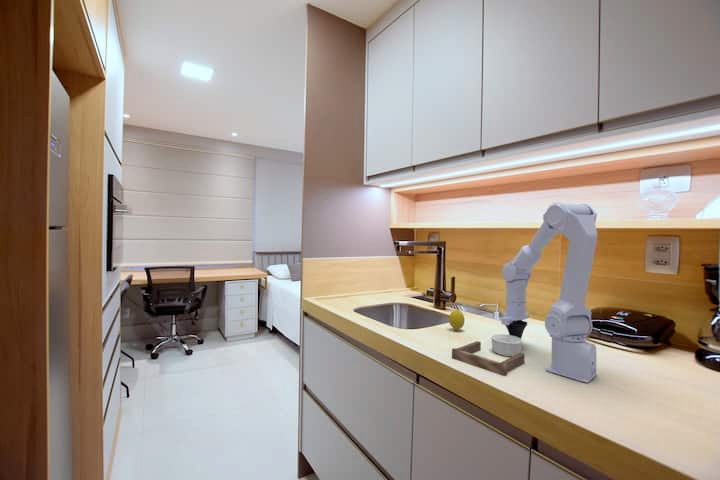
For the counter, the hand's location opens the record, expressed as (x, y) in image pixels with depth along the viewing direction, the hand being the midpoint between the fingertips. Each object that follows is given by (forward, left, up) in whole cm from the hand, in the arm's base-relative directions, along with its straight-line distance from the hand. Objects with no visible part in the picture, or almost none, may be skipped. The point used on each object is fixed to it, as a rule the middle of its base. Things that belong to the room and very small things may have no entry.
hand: (515, 343), depth 101 cm
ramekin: (0, +6, -2) cm, 6 cm away
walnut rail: (0, +16, -1) cm, 16 cm away
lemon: (+23, -2, -2) cm, 23 cm away
